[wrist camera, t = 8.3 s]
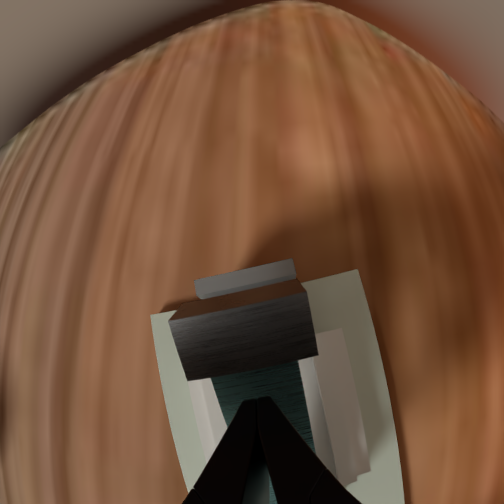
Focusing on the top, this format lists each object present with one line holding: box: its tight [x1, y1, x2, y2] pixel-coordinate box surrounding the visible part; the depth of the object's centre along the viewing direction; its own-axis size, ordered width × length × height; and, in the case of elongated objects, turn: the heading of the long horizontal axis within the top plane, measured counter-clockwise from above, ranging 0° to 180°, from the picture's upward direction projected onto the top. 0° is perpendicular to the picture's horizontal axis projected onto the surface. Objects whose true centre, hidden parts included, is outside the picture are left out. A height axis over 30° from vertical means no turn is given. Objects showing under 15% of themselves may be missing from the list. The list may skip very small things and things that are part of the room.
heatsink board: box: [151, 258, 405, 504], centre depth 14 cm, size 22×14×6 cm, turn 12°
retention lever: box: [168, 278, 319, 504], centre depth 10 cm, size 2×4×14 cm
